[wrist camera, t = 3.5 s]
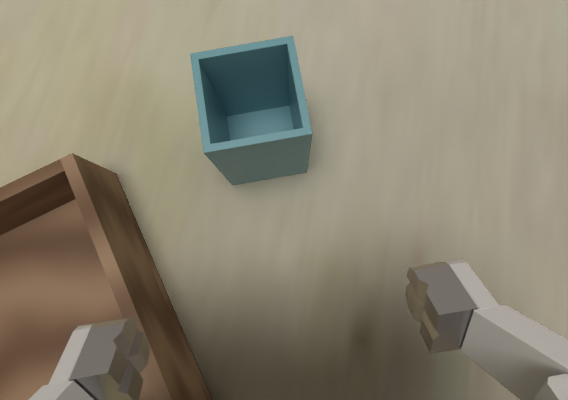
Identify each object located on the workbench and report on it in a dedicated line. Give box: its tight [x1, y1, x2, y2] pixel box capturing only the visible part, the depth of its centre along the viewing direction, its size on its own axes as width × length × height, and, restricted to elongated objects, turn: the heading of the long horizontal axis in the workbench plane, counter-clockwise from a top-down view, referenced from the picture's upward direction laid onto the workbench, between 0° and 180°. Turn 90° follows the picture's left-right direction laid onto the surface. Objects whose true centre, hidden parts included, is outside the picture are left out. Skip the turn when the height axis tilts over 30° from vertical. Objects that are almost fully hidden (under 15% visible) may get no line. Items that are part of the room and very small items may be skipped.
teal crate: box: [190, 36, 312, 185], centre depth 21 cm, size 6×6×8 cm
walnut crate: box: [0, 153, 212, 400], centre depth 21 cm, size 20×16×5 cm
